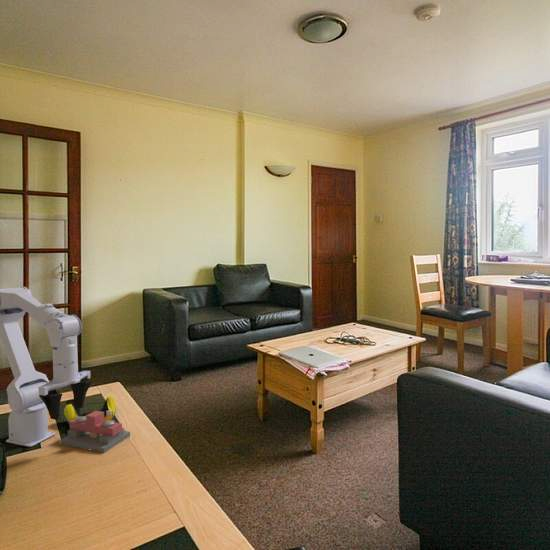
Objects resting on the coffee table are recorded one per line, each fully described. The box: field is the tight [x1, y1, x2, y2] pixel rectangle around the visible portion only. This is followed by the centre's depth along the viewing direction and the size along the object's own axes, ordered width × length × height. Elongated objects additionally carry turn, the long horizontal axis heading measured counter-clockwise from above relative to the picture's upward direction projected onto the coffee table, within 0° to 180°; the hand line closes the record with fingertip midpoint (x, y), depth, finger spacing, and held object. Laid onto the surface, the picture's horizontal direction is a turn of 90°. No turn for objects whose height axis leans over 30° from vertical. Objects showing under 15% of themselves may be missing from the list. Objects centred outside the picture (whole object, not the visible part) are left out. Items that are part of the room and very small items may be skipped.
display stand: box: [59, 427, 131, 453], centre depth 107 cm, size 15×10×3 cm, turn 71°
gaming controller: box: [63, 396, 117, 425], centre depth 120 cm, size 15×6×10 cm
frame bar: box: [69, 410, 123, 436], centre depth 107 cm, size 15×4×4 cm, turn 71°
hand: (67, 412), depth 101 cm, fingers open, 7 cm apart
